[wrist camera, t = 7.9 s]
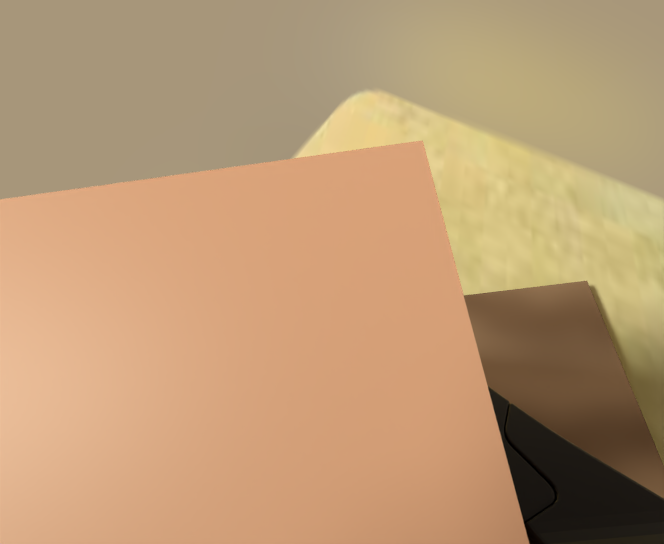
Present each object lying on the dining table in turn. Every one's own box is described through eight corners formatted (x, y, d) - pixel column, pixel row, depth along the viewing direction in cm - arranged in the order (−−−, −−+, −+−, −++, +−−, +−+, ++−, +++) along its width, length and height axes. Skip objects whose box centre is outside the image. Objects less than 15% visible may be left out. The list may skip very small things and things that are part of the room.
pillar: (393, 467, 13) (647, 988, 1) (267, 480, 13) (-356, 1033, 2) (374, 339, 14) (422, 140, 3) (264, 352, 15) (-42, 205, 4)
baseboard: (692, 577, 15) (746, 606, 13) (237, 616, 15) (218, 650, 13) (576, 286, 20) (601, 273, 18) (238, 326, 21) (225, 319, 18)
